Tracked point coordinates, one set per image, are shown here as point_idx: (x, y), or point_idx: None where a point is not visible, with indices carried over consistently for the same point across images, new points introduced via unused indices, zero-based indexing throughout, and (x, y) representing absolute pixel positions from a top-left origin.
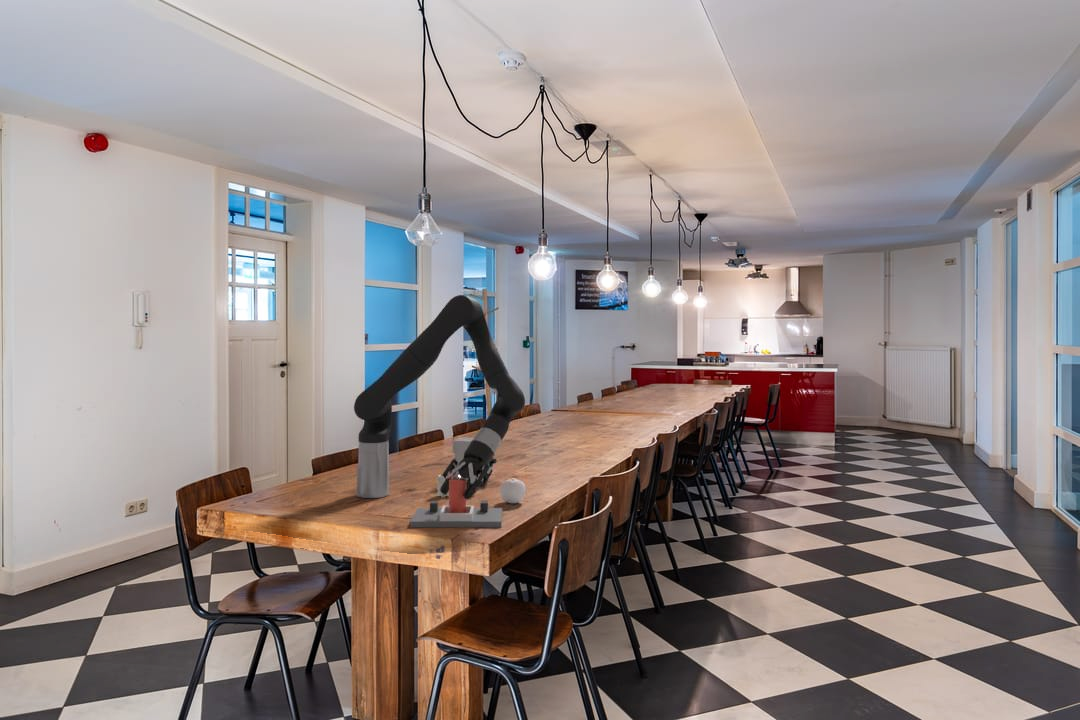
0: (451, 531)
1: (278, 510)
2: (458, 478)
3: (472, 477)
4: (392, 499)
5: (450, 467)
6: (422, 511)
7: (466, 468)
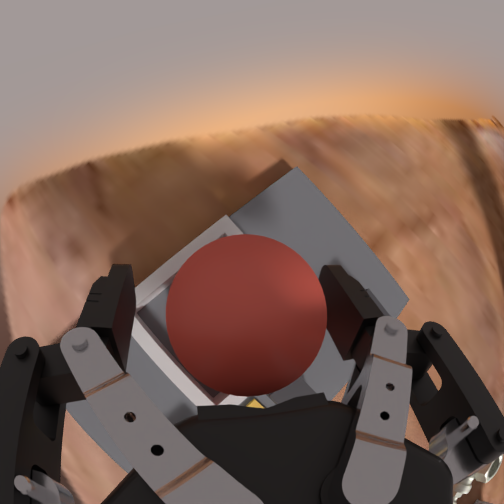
0: (146, 222)
1: (493, 152)
2: (300, 370)
3: (99, 380)
4: (497, 335)
5: (460, 386)
6: (371, 282)
7: (289, 472)
